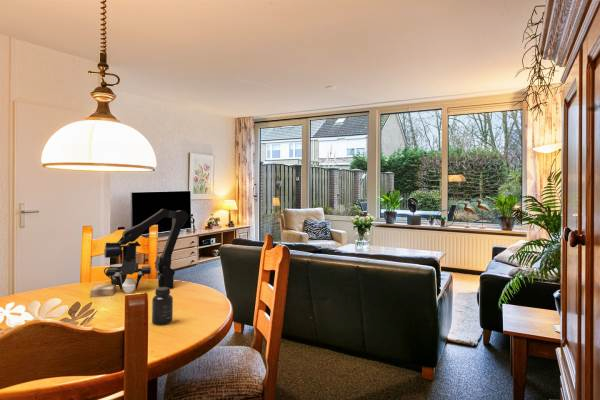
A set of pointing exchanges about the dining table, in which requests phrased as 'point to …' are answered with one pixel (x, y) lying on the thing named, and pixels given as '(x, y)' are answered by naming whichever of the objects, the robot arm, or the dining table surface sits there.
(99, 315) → the dining table surface
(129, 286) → the muffin
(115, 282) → the coffee mug
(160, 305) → the supplement bottle
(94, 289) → the brown flat block
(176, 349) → the dining table surface
